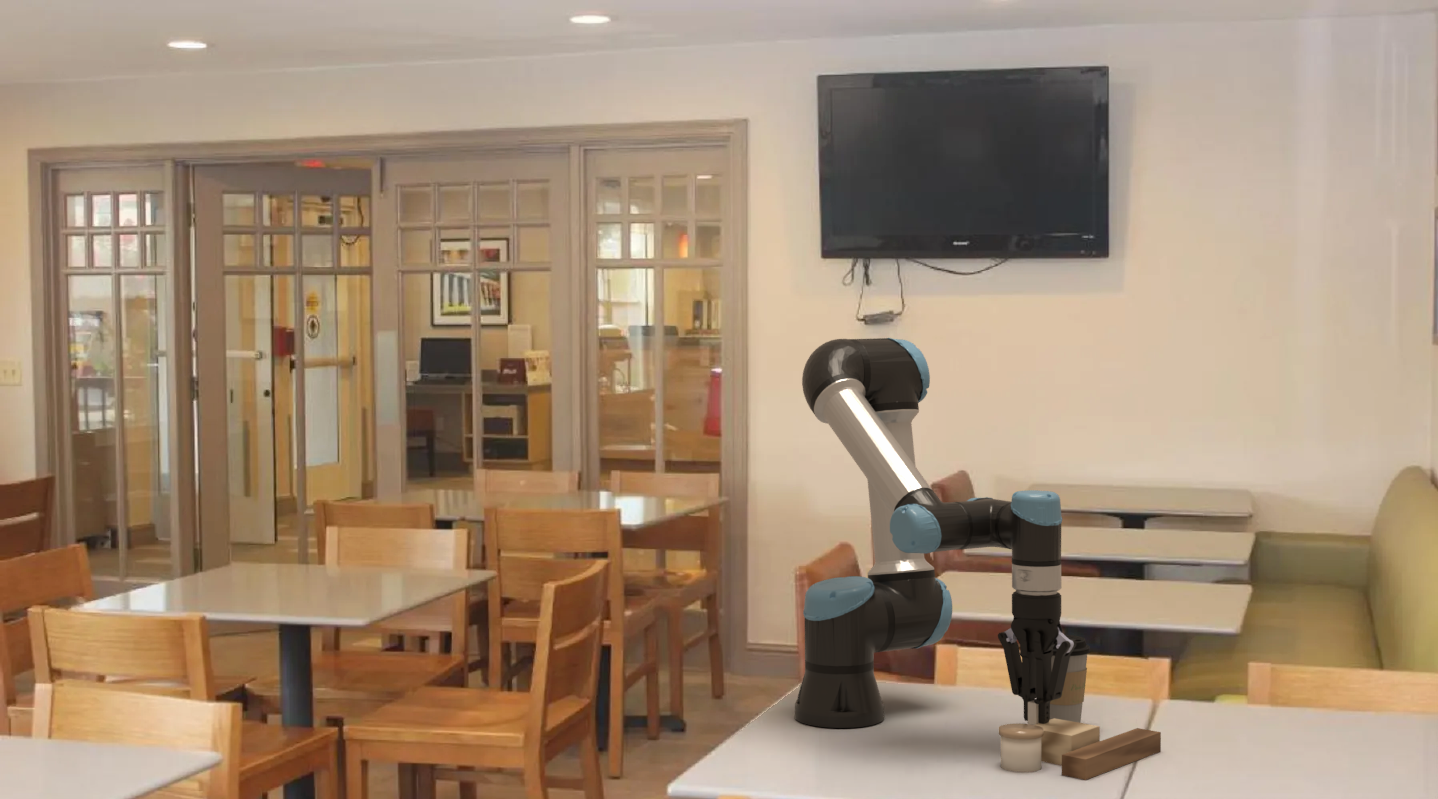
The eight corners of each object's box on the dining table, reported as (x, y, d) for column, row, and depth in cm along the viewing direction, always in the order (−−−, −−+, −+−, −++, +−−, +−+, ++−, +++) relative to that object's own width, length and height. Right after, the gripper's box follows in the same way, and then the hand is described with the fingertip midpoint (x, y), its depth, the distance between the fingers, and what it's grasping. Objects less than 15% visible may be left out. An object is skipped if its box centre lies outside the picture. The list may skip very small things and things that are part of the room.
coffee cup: (1091, 737, 259) (1091, 644, 258) (1031, 735, 261) (1031, 642, 260) (1089, 724, 268) (1089, 634, 268) (1031, 721, 270) (1031, 632, 270)
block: (1025, 759, 247) (1025, 727, 246) (1054, 750, 252) (1054, 718, 252) (1071, 769, 241) (1071, 735, 241) (1099, 758, 247) (1099, 726, 247)
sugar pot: (989, 767, 242) (989, 729, 241) (1014, 759, 246) (1014, 721, 246) (1027, 775, 237) (1027, 736, 237) (1052, 766, 242) (1052, 728, 242)
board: (1061, 775, 237) (1061, 754, 237) (1137, 747, 253) (1137, 728, 253) (1085, 780, 234) (1085, 759, 234) (1160, 751, 250) (1160, 732, 250)
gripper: (987, 589, 251) (987, 740, 252) (1060, 598, 242) (1060, 754, 243) (1014, 584, 257) (1014, 731, 257) (1086, 592, 248) (1086, 745, 248)
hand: (1036, 742), depth 250 cm, fingers closed
